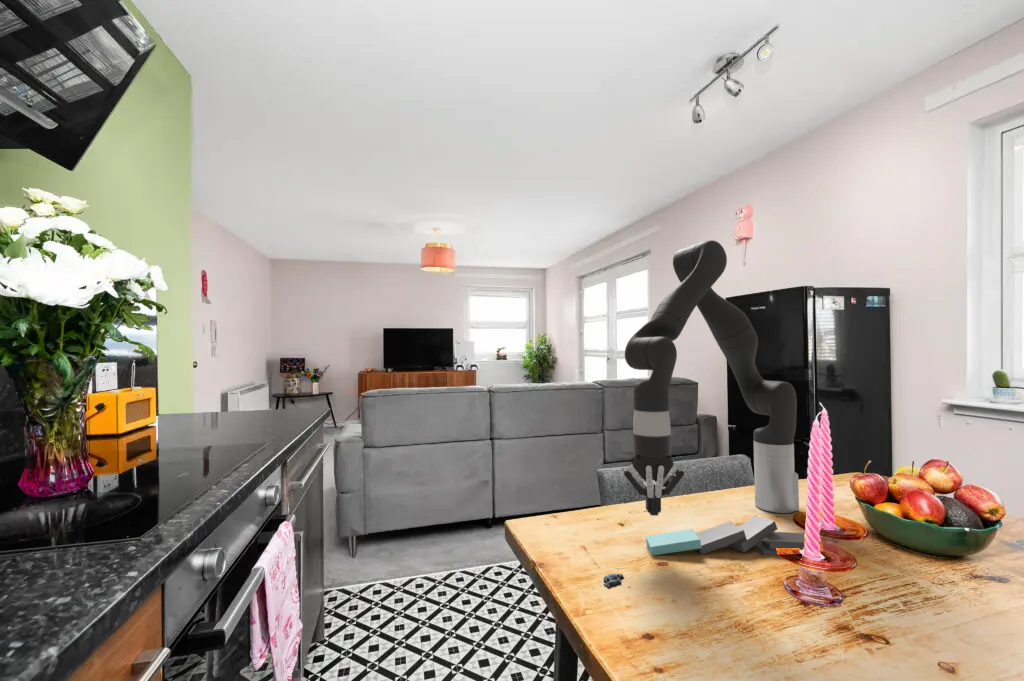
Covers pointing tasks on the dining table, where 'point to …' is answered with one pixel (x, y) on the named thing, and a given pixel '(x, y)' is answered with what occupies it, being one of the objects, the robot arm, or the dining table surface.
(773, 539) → the domino
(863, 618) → the dining table surface
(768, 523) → the domino
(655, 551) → the end domino
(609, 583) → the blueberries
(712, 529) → the domino
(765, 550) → the domino
